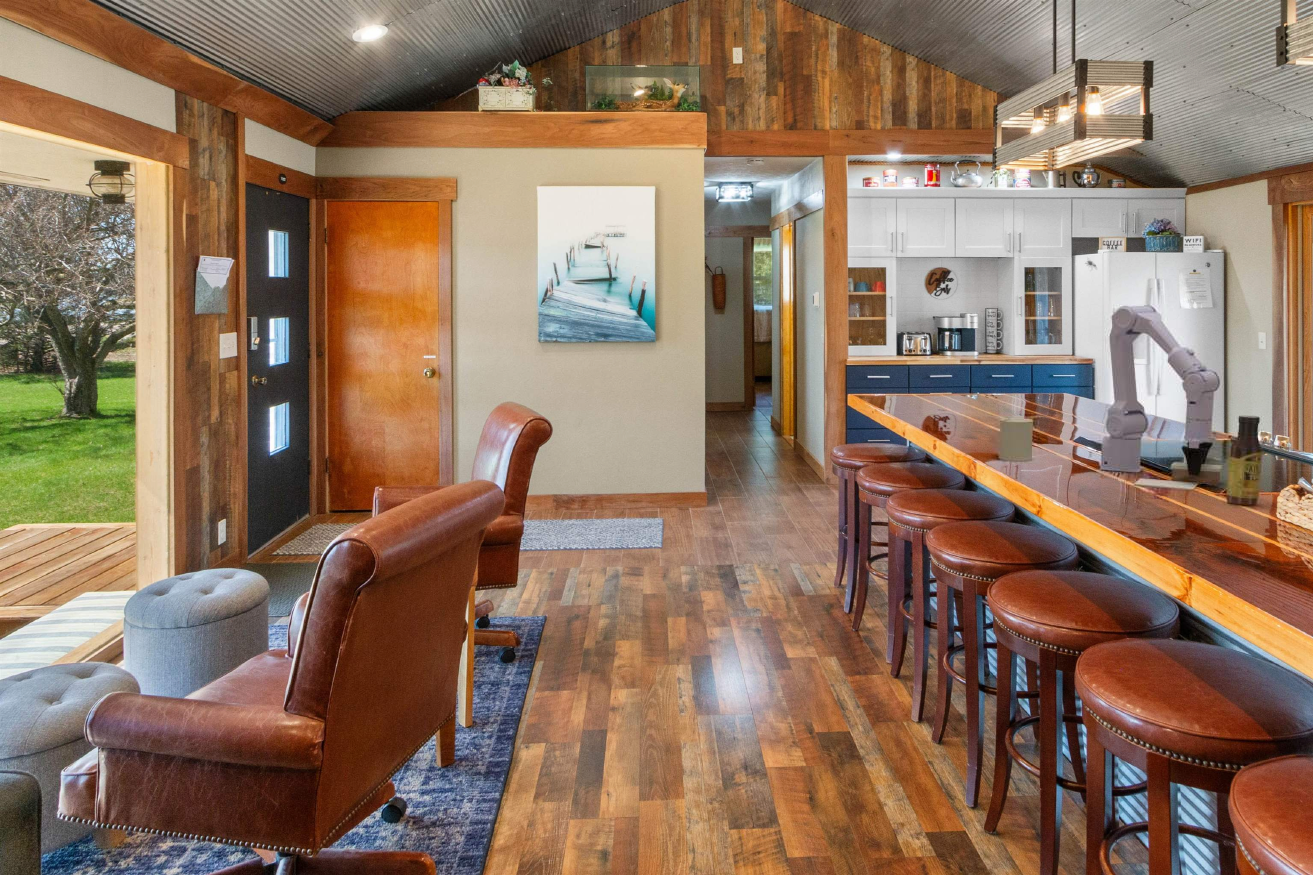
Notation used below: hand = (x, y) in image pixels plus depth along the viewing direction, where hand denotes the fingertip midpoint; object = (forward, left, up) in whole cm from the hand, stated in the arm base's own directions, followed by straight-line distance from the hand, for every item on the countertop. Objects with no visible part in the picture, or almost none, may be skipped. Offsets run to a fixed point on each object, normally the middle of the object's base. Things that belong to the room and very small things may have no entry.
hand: (1195, 472), depth 240 cm
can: (-48, +14, -3) cm, 50 cm away
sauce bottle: (+12, -22, -3) cm, 25 cm away
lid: (0, 0, +1) cm, 1 cm away
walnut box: (0, 0, -2) cm, 2 cm away
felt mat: (-6, -8, -2) cm, 10 cm away
